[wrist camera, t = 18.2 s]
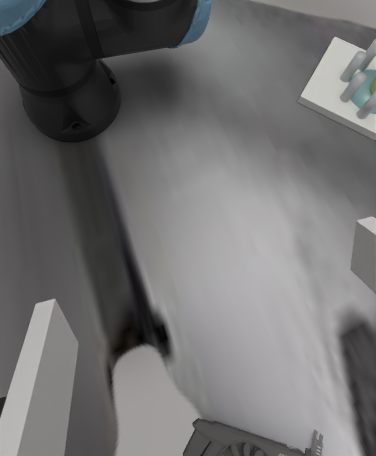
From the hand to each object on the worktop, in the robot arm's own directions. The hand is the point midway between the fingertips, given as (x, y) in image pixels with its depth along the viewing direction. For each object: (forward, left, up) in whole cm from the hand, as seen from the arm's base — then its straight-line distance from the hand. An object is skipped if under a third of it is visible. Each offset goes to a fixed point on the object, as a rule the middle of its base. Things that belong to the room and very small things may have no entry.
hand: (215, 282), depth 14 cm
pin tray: (+9, +44, -33) cm, 56 cm away
